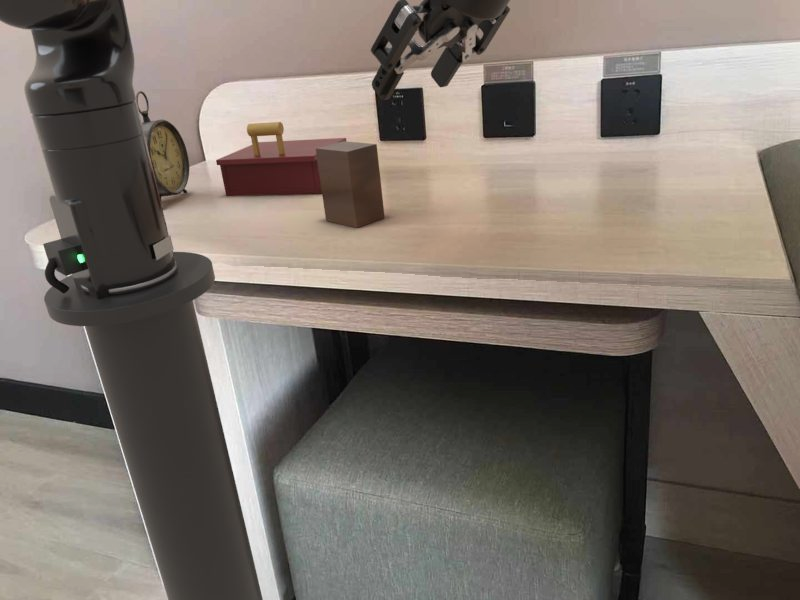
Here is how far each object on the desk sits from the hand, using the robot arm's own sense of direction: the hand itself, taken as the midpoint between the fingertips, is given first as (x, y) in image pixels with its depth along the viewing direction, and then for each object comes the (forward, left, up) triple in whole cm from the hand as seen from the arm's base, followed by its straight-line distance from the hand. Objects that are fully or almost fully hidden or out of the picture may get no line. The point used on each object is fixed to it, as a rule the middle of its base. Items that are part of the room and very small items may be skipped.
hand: (409, 87), depth 70 cm
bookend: (0, +11, -16) cm, 19 cm away
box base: (+8, +36, -16) cm, 40 cm away
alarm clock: (-8, +46, -16) cm, 50 cm away
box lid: (+8, +36, -11) cm, 39 cm away
